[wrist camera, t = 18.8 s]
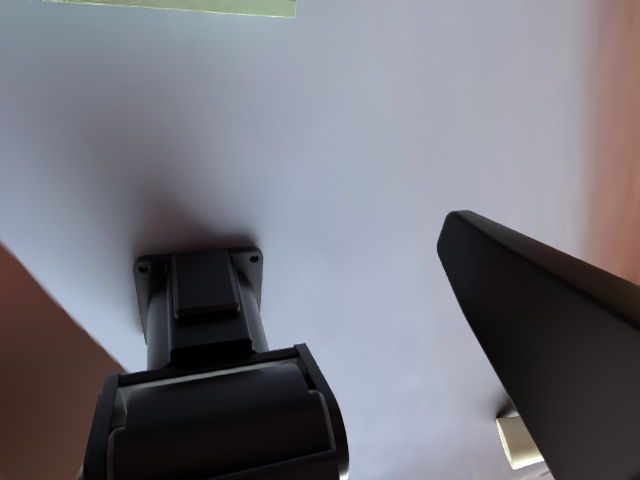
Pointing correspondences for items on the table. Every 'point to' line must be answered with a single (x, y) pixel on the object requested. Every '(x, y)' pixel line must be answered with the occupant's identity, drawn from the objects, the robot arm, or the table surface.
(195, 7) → the tray
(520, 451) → the flower vase
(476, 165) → the table surface
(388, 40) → the table surface
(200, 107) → the table surface
